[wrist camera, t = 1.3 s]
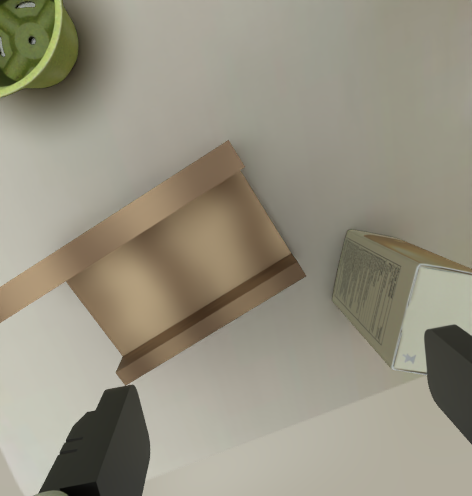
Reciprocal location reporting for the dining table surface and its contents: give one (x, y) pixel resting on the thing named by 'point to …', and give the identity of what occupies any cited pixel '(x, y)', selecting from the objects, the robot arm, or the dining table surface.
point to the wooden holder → (169, 264)
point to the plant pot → (35, 45)
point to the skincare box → (400, 296)
